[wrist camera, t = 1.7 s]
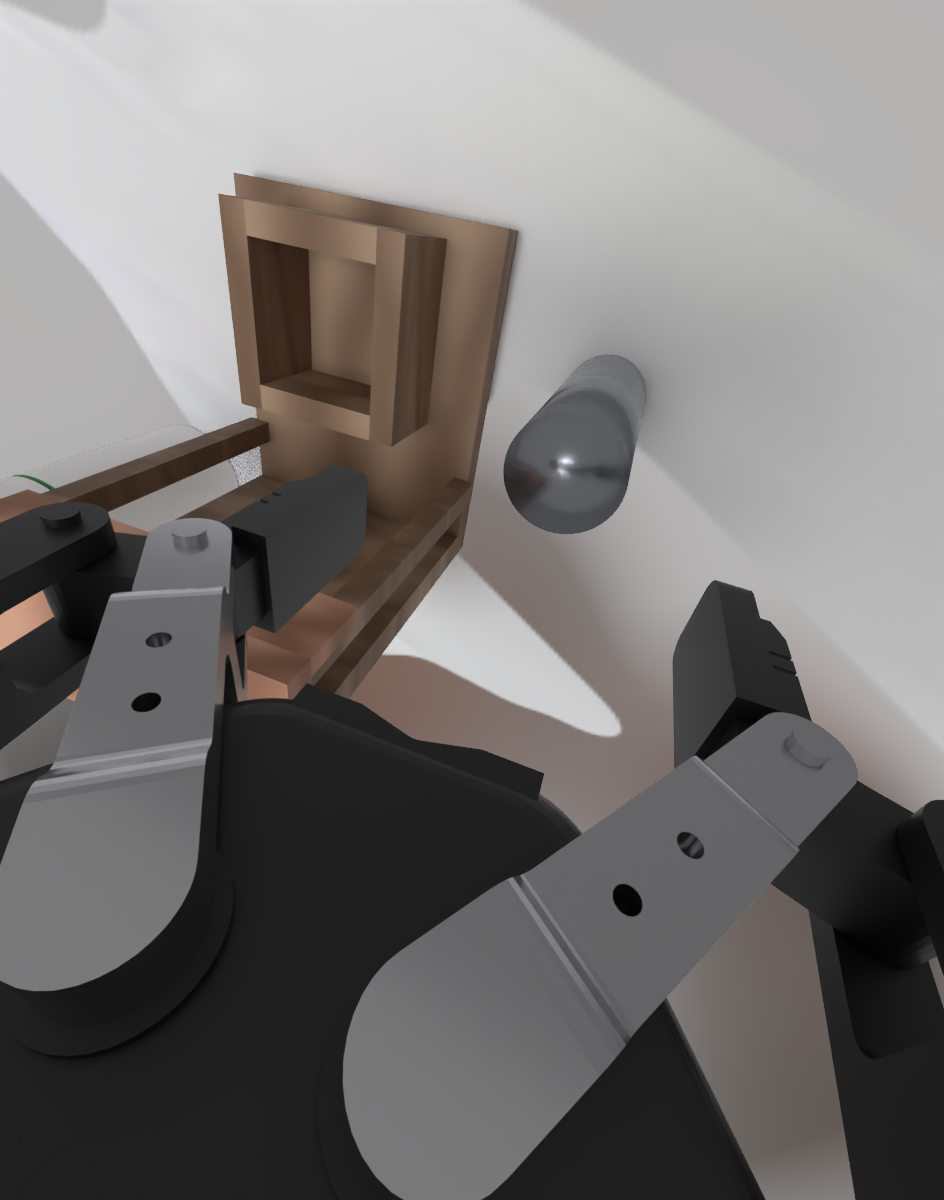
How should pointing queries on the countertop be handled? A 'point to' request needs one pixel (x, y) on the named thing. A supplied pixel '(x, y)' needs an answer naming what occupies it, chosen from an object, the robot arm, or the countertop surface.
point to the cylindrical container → (152, 506)
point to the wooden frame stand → (339, 407)
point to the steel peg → (578, 448)
